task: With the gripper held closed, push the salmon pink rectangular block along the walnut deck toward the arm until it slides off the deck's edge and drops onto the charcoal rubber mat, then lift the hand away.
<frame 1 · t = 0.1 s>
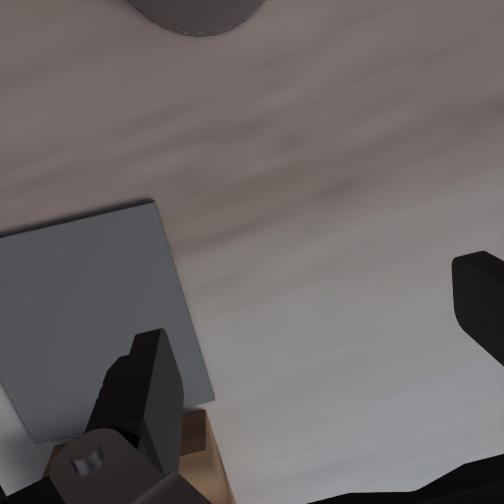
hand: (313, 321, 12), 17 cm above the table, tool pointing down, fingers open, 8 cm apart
deck: (156, 490, 36), on the table
mat: (90, 331, 30), on the table
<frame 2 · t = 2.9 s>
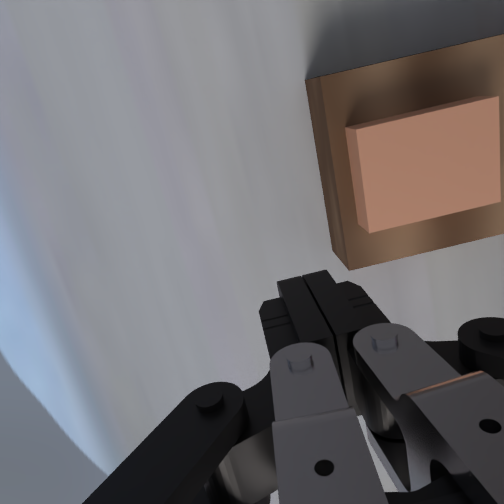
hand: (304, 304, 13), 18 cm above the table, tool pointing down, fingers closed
deck: (417, 148, 30), on the table
salmon pink rectangular block: (415, 162, 26), point 4 cm above the table, touching deck
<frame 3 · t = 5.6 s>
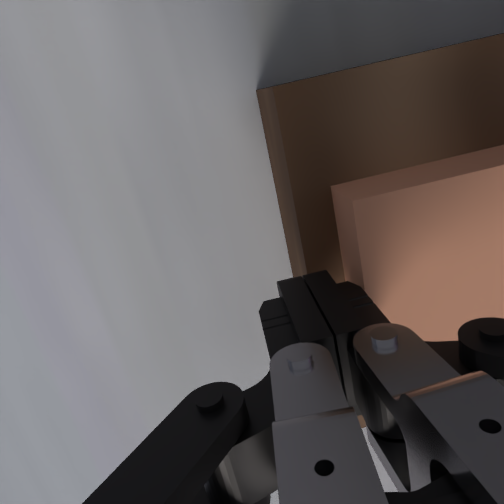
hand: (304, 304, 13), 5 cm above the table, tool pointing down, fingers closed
deck: (455, 206, 18), on the table
salmon pink rectangular block: (467, 248, 14), point 4 cm above the table, touching gripper
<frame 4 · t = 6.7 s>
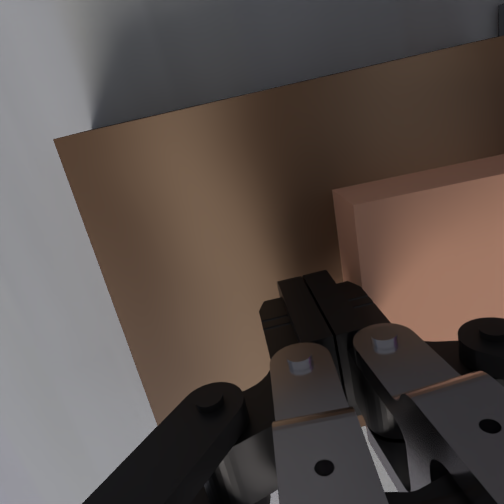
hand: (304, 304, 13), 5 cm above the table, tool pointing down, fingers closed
deck: (310, 241, 18), on the table
salmon pink rectangular block: (464, 255, 14), point 4 cm above the table, touching deck, gripper
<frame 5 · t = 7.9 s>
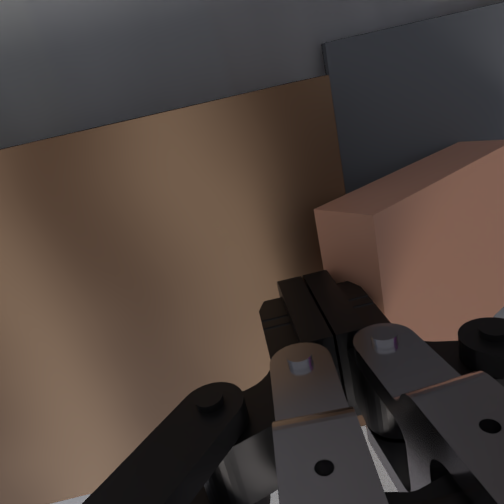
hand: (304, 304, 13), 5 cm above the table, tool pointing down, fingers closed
deck: (155, 277, 17), on the table
salmon pink rectangular block: (405, 254, 15), point 3 cm above the table, tilted 33°, touching deck, gripper, mat
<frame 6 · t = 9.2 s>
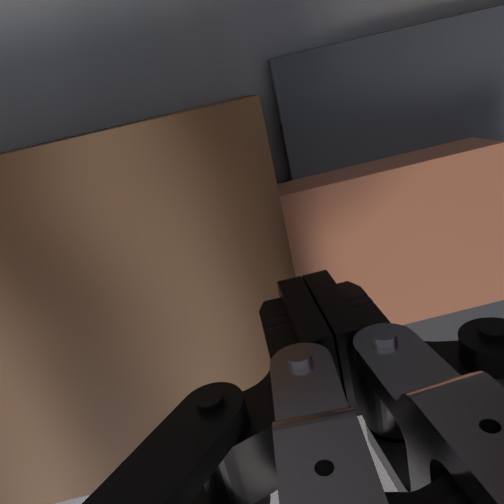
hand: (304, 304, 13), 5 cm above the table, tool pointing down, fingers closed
deck: (109, 290, 17), on the table
mat: (492, 198, 18), on the table
salmon pink rectangular block: (379, 235, 17), resting on mat
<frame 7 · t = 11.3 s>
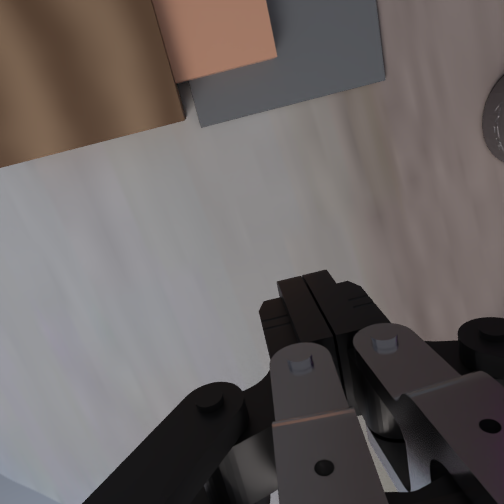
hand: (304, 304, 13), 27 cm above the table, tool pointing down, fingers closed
deck: (76, 62, 34), on the table
mat: (275, 12, 34), on the table
salmon pink rectangular block: (215, 30, 34), resting on mat
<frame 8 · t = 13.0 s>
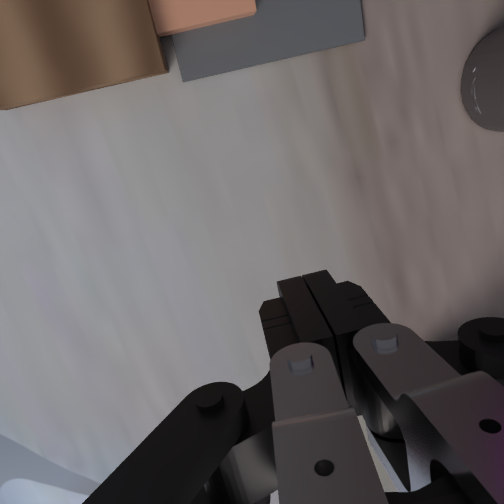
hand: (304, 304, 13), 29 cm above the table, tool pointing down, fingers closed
deck: (62, 13, 35), on the table
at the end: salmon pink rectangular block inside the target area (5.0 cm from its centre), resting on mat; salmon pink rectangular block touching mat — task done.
